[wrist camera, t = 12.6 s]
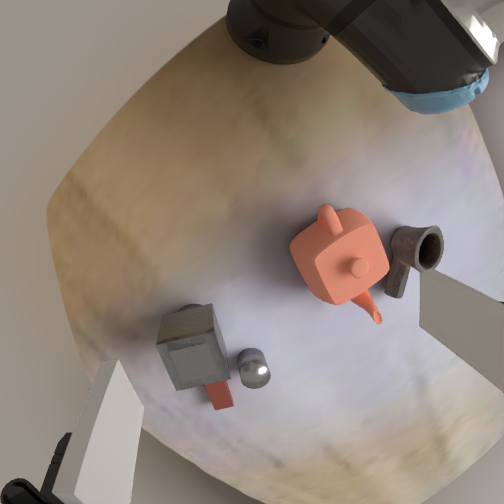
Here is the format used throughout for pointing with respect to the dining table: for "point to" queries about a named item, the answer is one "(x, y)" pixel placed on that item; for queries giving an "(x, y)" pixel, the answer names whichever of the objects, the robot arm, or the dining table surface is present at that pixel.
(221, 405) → the ratchet
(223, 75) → the dining table surface
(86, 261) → the dining table surface
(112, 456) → the robot arm
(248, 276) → the dining table surface
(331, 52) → the dining table surface
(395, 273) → the pipe
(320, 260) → the teapot
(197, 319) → the grey square box
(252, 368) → the socket
